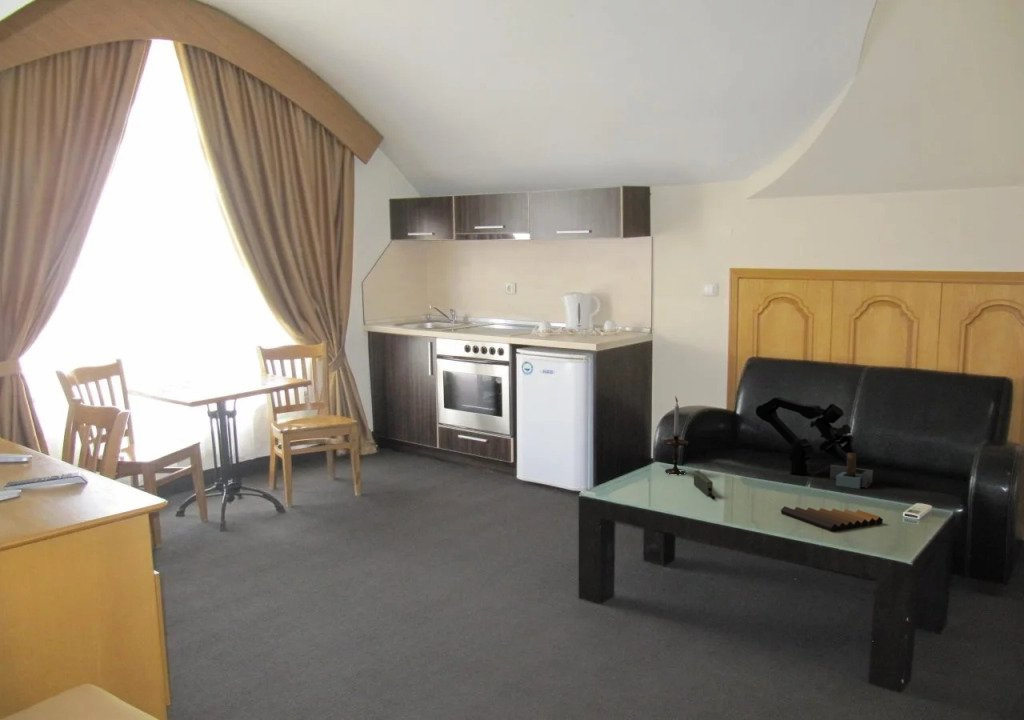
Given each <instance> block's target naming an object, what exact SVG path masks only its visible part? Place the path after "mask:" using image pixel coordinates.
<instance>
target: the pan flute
mask: <svg viewBox="0 0 1024 720" xmlns="http://www.w3.org/2000/svg"><path fill="white" fill-rule="evenodd" d="M780 512H781V513H780V514H781V515H783V516H785V517H789V518H792V519H795V520H797V521H800V522H803V523H806V524H807V525H810V526H811V525H812V526H814V527H817V528H819V529H822V530H825V531H826V532H827V531H828V532H830V533H834V532H835V533H836V532H838V531H839V532H840V531H842V532H843V531H845V530H847V531H848V530H854V529H859V528H865V527H872V526H875V525H876V526H878V525H879V526H880V525H882V524H883V521H884V519H883V518H881V516H878V515H875V514H872V513H869V512H866V511H864V510H863V511H862V510H860V509H857V510H856V511H853V510H849V509H846V508H845V509H844V510H843V511H842V510H840V509H839V510H838V509H835V508H832V509H831V510H829V509H825V508H822V507H820V508H819V509H815V508H813V507H812V508H811V507H808V508H806V509H804V508H801V507H798V506H796V507H795V508H791V507H788V506H785V505H784V506H783V508H781V509H780Z"/></svg>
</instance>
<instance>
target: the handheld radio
mask: <svg viewBox="0 0 1024 720" xmlns="http://www.w3.org/2000/svg"><path fill="white" fill-rule="evenodd" d="M693 485H694V486H695V488H697V489H698V490H699V491H700V492H701V493H702V494H704V495H705V497H707V498H711V499H712V500H715V499H716V496H715V495H714V494H713V491H714V490H713V489H714V487H713V486H714V485H713V481H712V480H711V479H710V478H709V477H708V476H706V475H705V474H704V473H703V472H701V471H700V470H699V469H698V470H694V472H693Z"/></svg>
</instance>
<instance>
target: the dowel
mask: <svg viewBox="0 0 1024 720" xmlns="http://www.w3.org/2000/svg"><path fill="white" fill-rule="evenodd" d="M846 455H847V456H846V467H847V474H846V476H848V477H855V475H856V468H857V453H855V452H854V453H846Z"/></svg>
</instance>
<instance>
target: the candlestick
mask: <svg viewBox="0 0 1024 720" xmlns="http://www.w3.org/2000/svg"><path fill="white" fill-rule="evenodd" d="M674 398H675V402H676V403H675V406H674V419H673V420H674V424H673V434H671V436H672V437H673V438H667V439H664V440H663V444H664V445H665V446H671V447H673V449H674V450H673V451H674V452H673V453H674V454H673V455H672V459H673V460H672V463H673V467H672V468H667V469H665V471H664V473H665V472H666V473H669V474H668V475H670V474H684V473H685V472H686V470H684V469H681V468H678V463H679V461H678V460H679V457H680V456H679V455H678V448H679V447H683V446H688V445H689V440H686V439H679V437H681V434H679V423H680V421H679V420H680V418H679V417H680V416H679V415H680V406H679V404H678V402H679V401H678V397H677V396H676V395H675V396H674ZM679 470H684V471H681V472H680V471H679ZM666 473H665V474H666ZM685 474H686V473H685ZM685 474H684V475H685Z"/></svg>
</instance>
